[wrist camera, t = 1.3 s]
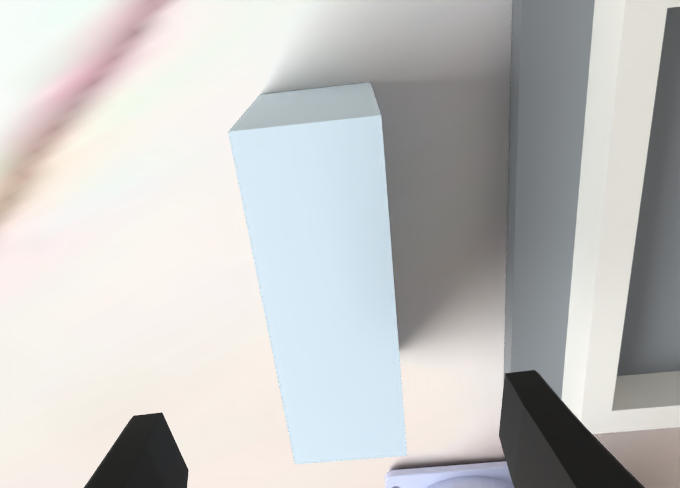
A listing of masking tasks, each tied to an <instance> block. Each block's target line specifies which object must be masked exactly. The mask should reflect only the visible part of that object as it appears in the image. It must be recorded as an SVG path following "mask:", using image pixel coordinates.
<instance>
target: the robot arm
mask: <svg viewBox="0 0 680 488" xmlns="http://www.w3.org/2000/svg"><path fill="white" fill-rule="evenodd" d="M499 437H500V441H501V444H502V448H503V452H504V455H505V459H506V461H502V462H489V463H477V464H464V465H451V466H438V467H426V468H413V469H400V470H392V471H389V472H387V473H386V475H385V486H386V488H645V487H644V486H642V485H641V484H640V483H639V482H638V481H637V480H636V479H635V478H634V477H633V476H632V475H631V474H630V473H629V472H628V471H627V470H626V469H625V468H624V467H623V466H622V465H621V464H620V463H619V462H618V461H617V460H616V458H615V457H614V456H613V455H612V454H611V453H610V452H609V451H608V450H607V449H606V448H605V447H604V446H603V445H602V444H601V443H600V442H599V441H598V440H597V439H596V438H595V437H594V436H593V435H592V433H591V432H590V431H589V430H588V429H587V428H586V427H585V426H584V425H583V424H582V423H581V421H580V420H579V419H578V418H577V417H576V416H575V415H574V414H573V413H572V411H571V410H570V409H569V408H568V407H567V406H566V405H565V403H564V402H563V401H562V400H561V399H560V398H559V397H558V395H557V394H556V393H555V392H554V391H553V389H552V388H551V387H550V386H549V385H548V384H547V382H546V381H545V380H544V379H543V378H542V376H541V375H540V374H539V373H538V372H537V371H535V370H529V371H521V372H512V373H505V378H504V388H503V399H502V409H501V420H500V431H499ZM187 480H188V468H187V466H186V464H185V462H184V459H183V457H182V455H181V453H180V451H179V448H178V446H177V444H176V442H175V440H174V437H173V435H172V433H171V431H170V429H169V427H168V424H167V422H166V420H165V418H164V416H163V413H154V414H146V415H137V416H133V417H132V418H131V420H130V421H129V422H128V424H127V425H126V427H125V428H124V430H123V431H122V433H121V434H120V436H119V437H118V439H117V440H116V442H115V443H114V445H113V446H112V447H111V449H110V450H109V452H108V453H107V455H106V456H105V458H104V459H103V461H102V462H101V464H100V465H99V467H98V468H97V470H96V471H95V472H94V474H93V475H92V477H91V478H90V480H89V481H88V483H87V484H86V485H85V487H84V488H187ZM394 486H397V487H394Z"/></svg>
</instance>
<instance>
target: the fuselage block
mask: <svg viewBox="0 0 680 488" xmlns="http://www.w3.org/2000/svg"><path fill="white" fill-rule="evenodd" d="M228 133H229V138H230V143H231V148H232V153H233V158H234V163H235V168H236V173H237V178H238V183H239V188H240V193H241V197H242V202H243V207H244V212H245V217H246V222H247V227H248V232H249V237H250V242H251V247H252V252H253V257H254V262H255V267H256V272H257V277H258V282H259V287H260V292H261V297H262V302H263V307H264V312H265V317H266V322H267V327H268V332H269V337H270V342H271V347H272V352H273V357H274V362H275V367H276V372H277V377H278V382H279V387H280V392H281V397H282V402H283V407H284V412H285V417H286V422H287V427H288V432H289V437H290V442H291V447H292V452H293V457H294V462H295V464H305V463H318V462H331V461H344V460H357V459H370V458H383V457H396V456H407V450H406V436H405V423H404V410H403V396H402V383H401V370H400V356H399V343H398V330H397V316H396V303H395V290H394V276H393V263H392V250H391V236H390V223H389V210H388V197H387V183H386V170H385V157H384V143H383V130H382V117H381V112H380V109H379V106H378V103H377V100H376V97H375V94H374V92H373V89H372V86H371V83H370V82H367V83H358V84H349V85H340V86H331V87H323V88H314V89H305V90H296V91H287V92H278V93H269V94H260V95H259V96H258V98H257V99H256V100H255V101H254V102H253V103H252V105H251V106H250V107H249V108H248V109H247V111H246V112H245V113H244V114H243V115H242V116H241V118H240V119H239V120H238V121H237V122H236V123H235V125H234V126H233V127H232V128H231V129H230V130H229V132H228Z"/></svg>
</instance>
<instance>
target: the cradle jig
mask: <svg viewBox="0 0 680 488" xmlns="http://www.w3.org/2000/svg"><path fill="white" fill-rule="evenodd" d="M529 370H535V371H537V372H538V373H539V374H540V375H541V376H542V378H543V379H544V380H545V381H546V382H547V384H548V385H549V386H550V387H551V388H552V389H553V391H554V392H555V393H556V394H557V395H558V397H559V398H560V399H561V400H562V401H563V402H564V403H565V405H566V406H567V407H568V408H569V409H570V410H571V411H572V413H573V414H574V415H575V416H576V417H577V418H578V419H579V420H580V421H581V423H582V424H583V425H584V426H585V427H586V428H587V429H588V430H589V431H590V432H591V433H592V434H602V433H615V432H627V431H640V430H652V429H664V428H677V427H680V0H513V4H512V47H511V91H510V134H509V178H508V221H507V264H506V308H505V351H504V378H505V373H512V372H521V371H529Z"/></svg>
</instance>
